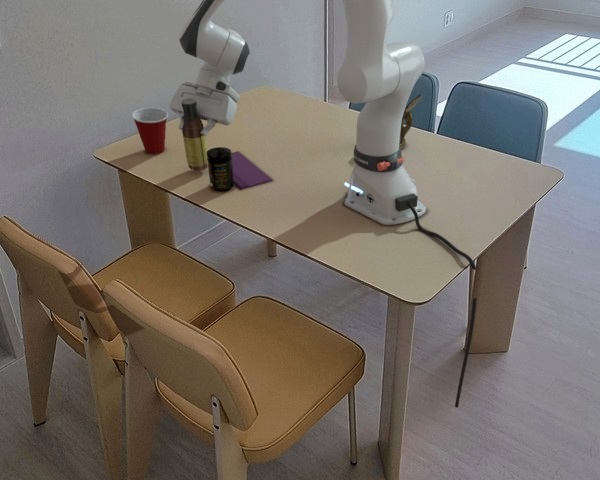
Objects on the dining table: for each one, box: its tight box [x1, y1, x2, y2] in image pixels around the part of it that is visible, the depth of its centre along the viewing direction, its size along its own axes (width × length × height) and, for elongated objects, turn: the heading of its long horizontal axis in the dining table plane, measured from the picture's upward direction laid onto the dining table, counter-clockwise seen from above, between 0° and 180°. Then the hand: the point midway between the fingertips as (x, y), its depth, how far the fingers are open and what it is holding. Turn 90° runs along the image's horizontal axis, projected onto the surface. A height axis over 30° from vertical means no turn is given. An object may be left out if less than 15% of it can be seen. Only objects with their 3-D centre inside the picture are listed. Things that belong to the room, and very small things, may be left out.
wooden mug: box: [399, 93, 422, 151], centre depth 196 cm, size 9×14×18 cm, turn 51°
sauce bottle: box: [181, 99, 208, 172], centre depth 184 cm, size 6×6×20 cm
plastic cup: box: [131, 107, 169, 155], centre depth 199 cm, size 11×11×12 cm
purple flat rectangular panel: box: [231, 151, 273, 190], centre depth 191 cm, size 22×10×1 cm, turn 30°
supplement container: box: [207, 146, 235, 193], centre depth 179 cm, size 7×7×10 cm
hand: (192, 132), depth 183 cm, fingers closed on sauce bottle, 6 cm apart
